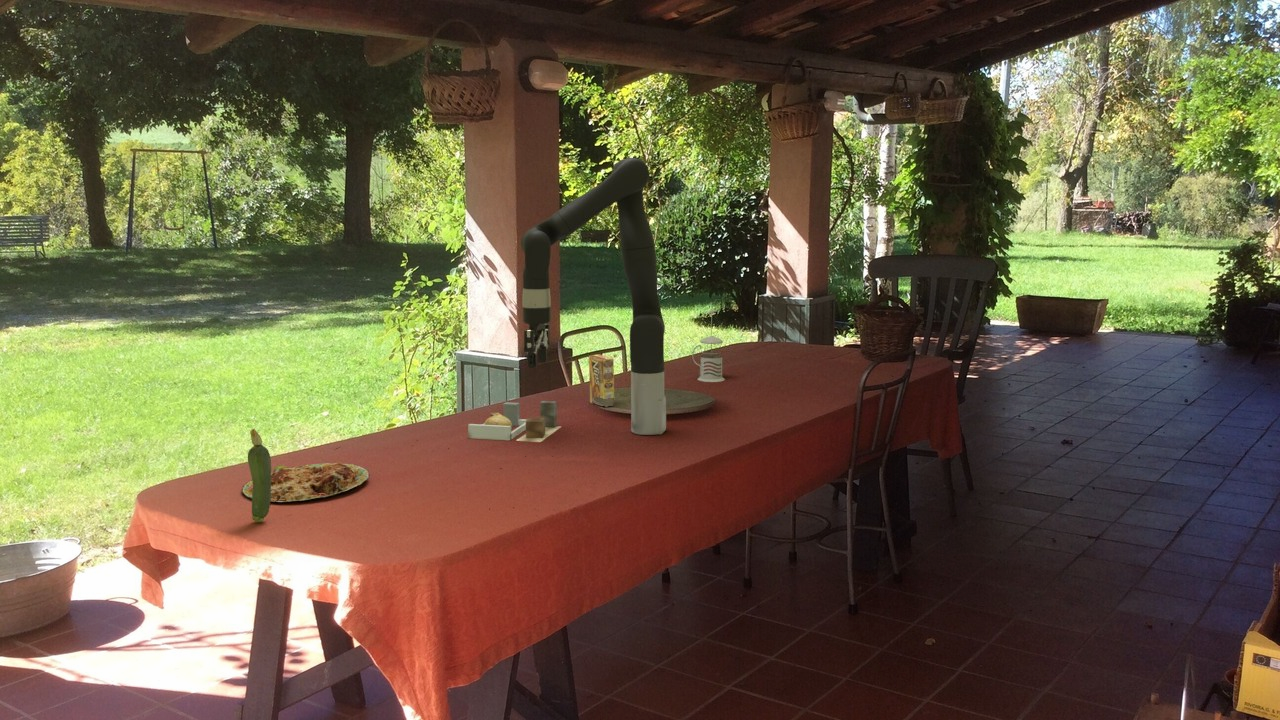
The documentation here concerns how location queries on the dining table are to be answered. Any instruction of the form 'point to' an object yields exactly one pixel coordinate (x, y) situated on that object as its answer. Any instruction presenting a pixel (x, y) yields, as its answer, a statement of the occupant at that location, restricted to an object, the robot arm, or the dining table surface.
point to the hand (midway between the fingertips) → (537, 364)
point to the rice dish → (312, 481)
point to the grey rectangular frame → (500, 431)
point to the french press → (710, 359)
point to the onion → (498, 420)
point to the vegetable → (260, 477)
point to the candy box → (601, 377)
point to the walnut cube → (535, 427)
